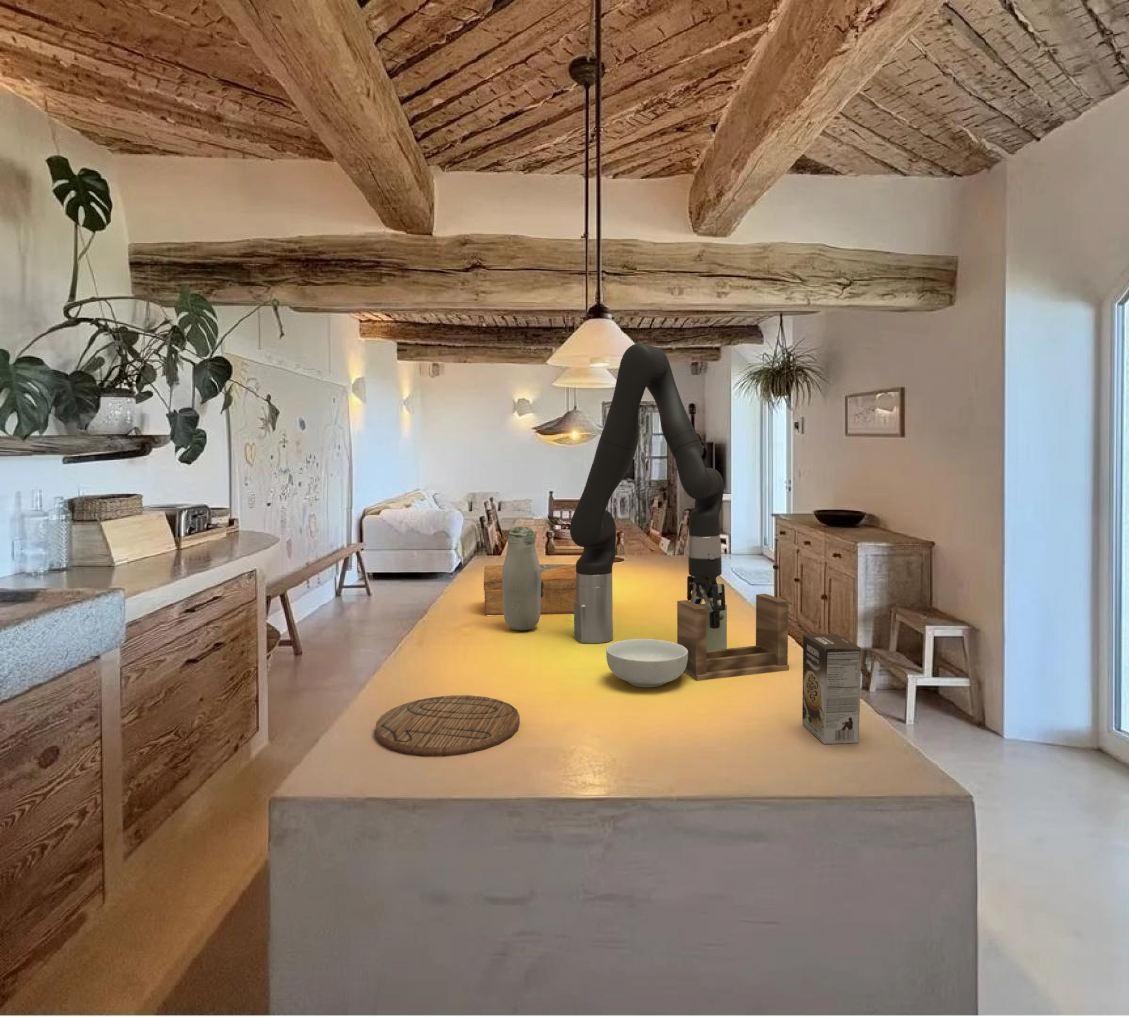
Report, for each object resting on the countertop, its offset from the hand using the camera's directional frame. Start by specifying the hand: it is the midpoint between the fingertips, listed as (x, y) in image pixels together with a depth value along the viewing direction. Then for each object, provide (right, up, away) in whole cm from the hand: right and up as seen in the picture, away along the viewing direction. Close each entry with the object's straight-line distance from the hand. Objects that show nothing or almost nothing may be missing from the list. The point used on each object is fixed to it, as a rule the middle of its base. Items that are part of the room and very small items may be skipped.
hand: (705, 624), depth 172 cm
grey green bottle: (-44, -6, +28) cm, 53 cm away
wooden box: (-42, -4, +53) cm, 67 cm away
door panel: (0, -8, +1) cm, 8 cm away
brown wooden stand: (+4, -8, -9) cm, 13 cm away
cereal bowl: (-16, -10, -17) cm, 25 cm away
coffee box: (+12, -12, -46) cm, 49 cm away
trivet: (-53, -12, -41) cm, 68 cm away
